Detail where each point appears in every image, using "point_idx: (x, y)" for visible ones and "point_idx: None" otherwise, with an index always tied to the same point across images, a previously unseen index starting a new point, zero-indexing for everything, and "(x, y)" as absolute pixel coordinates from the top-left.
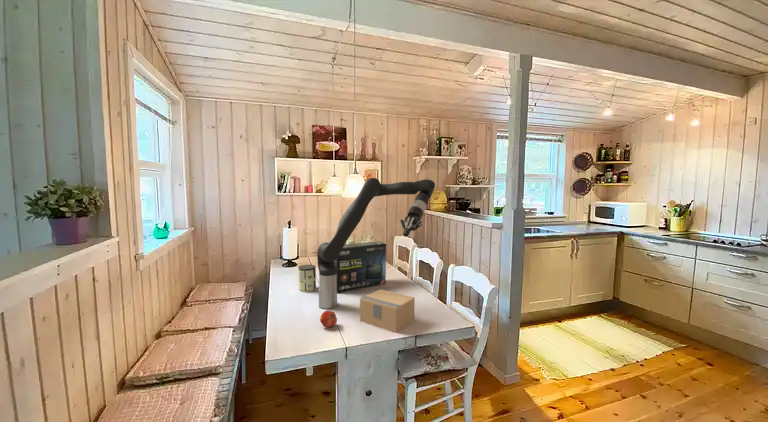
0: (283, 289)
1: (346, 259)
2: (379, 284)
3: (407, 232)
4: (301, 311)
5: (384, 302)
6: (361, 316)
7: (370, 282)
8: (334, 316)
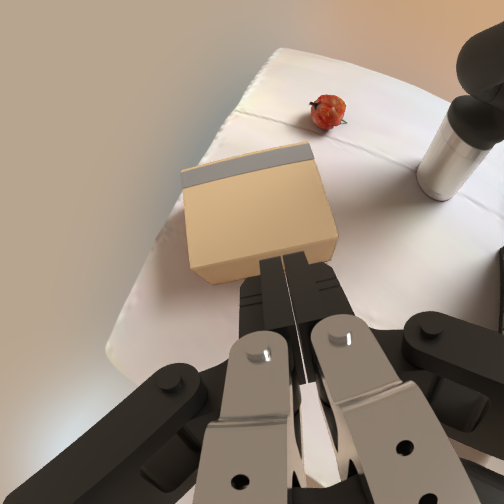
0: None
1: None
2: None
3: (252, 298)
4: (428, 126)
5: (229, 168)
6: None
7: None
8: (317, 111)
